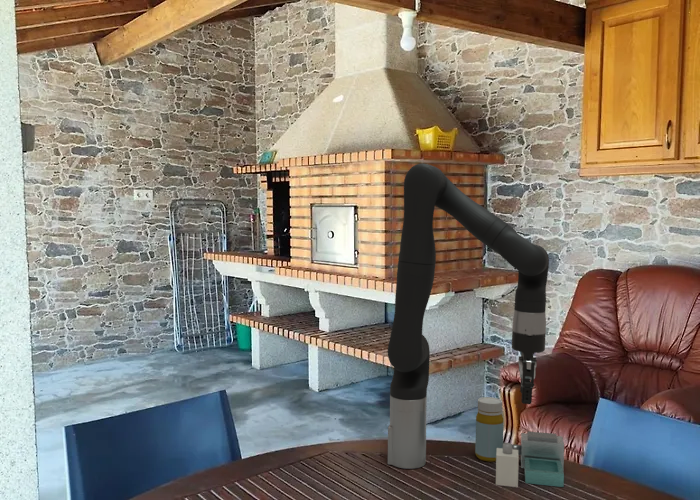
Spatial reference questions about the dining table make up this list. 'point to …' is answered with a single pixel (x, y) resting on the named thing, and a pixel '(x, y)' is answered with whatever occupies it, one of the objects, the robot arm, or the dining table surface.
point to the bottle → (489, 428)
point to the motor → (542, 458)
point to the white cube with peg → (507, 466)
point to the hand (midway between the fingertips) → (525, 398)
